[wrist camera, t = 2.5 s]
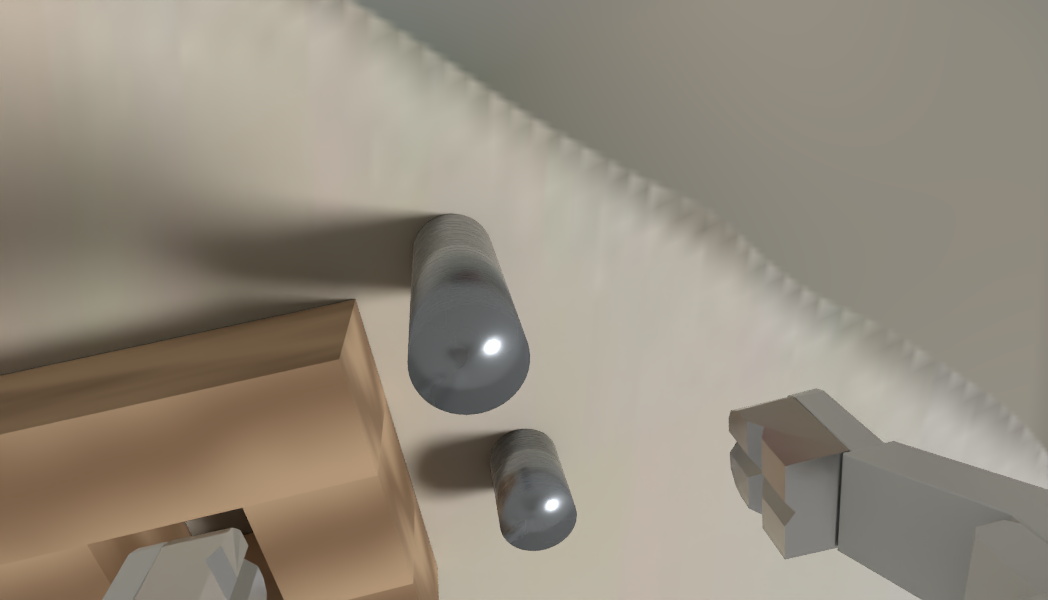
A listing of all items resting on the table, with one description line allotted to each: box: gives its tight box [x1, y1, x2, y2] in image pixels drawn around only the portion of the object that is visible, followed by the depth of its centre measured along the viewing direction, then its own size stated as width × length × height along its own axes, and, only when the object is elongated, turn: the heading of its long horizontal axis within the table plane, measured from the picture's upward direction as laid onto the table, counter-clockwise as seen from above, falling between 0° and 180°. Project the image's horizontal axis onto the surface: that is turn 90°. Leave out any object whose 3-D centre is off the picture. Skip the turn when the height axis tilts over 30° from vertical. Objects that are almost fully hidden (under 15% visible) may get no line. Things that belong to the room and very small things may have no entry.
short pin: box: [490, 429, 577, 551], centre depth 26 cm, size 3×3×4 cm
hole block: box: [0, 299, 439, 600], centre depth 23 cm, size 14×14×5 cm
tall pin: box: [408, 214, 530, 415], centre depth 19 cm, size 3×3×9 cm
